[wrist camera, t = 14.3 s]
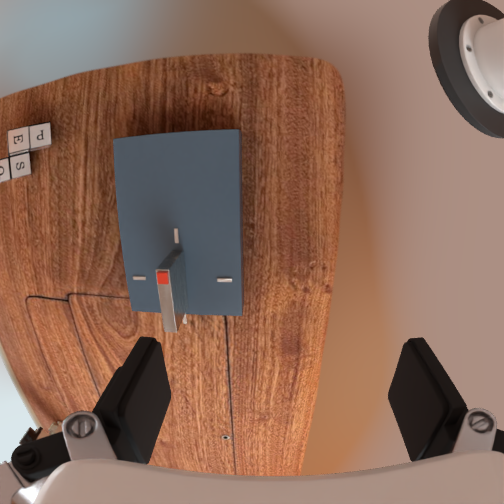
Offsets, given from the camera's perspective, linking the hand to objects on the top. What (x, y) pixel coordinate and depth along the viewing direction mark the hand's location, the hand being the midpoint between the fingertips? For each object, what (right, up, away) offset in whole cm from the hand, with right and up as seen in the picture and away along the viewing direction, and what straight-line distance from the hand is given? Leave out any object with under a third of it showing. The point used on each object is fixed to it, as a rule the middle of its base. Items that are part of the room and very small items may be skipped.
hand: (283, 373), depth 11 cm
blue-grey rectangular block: (-8, +8, +21) cm, 23 cm away
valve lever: (-8, +2, +19) cm, 21 cm away
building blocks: (-27, +17, +19) cm, 37 cm away
